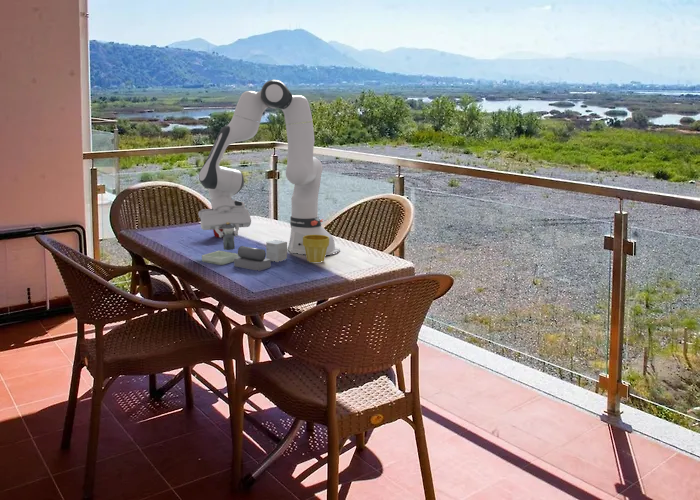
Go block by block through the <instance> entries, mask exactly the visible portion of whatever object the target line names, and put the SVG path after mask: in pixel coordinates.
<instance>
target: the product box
mask: <svg viewBox="0 0 700 500" xmlns="http://www.w3.org/2000/svg"><path fill="white" fill-rule="evenodd" d="M265 245H266V246H265V247H266V248H265V249H266V250H265V252H266V257H265V258H266V259H271V262H274V261H275V263H280V262H283V260H284V261H286V260H285V259H287V260H288V242H287V241H283V240H280V239H279V240H278V239H273V240H269V241H266V243H265ZM279 261H280V262H279Z"/></svg>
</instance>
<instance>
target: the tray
mask: <svg viewBox="0 0 700 500" xmlns="http://www.w3.org/2000/svg"><path fill="white" fill-rule="evenodd" d="M238 257H239V256H238V252H237V253H236V252H230V251H226V250H225V251H224V250H216V251H212V252H209V253H205V254H202V255H201V262H202V263H207V264H212V265H213V264H214V265H219V266H223V265H227V264H230V263H234V259H235V258H238Z"/></svg>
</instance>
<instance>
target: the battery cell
mask: <svg viewBox="0 0 700 500" xmlns="http://www.w3.org/2000/svg"><path fill="white" fill-rule="evenodd" d="M234 231H235V228H234V224H230V222H226V224H223V235H224V236H223V237H222V239H223V242H222V243H223V251H224V250H225V251H232V250H235V236H234Z"/></svg>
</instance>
